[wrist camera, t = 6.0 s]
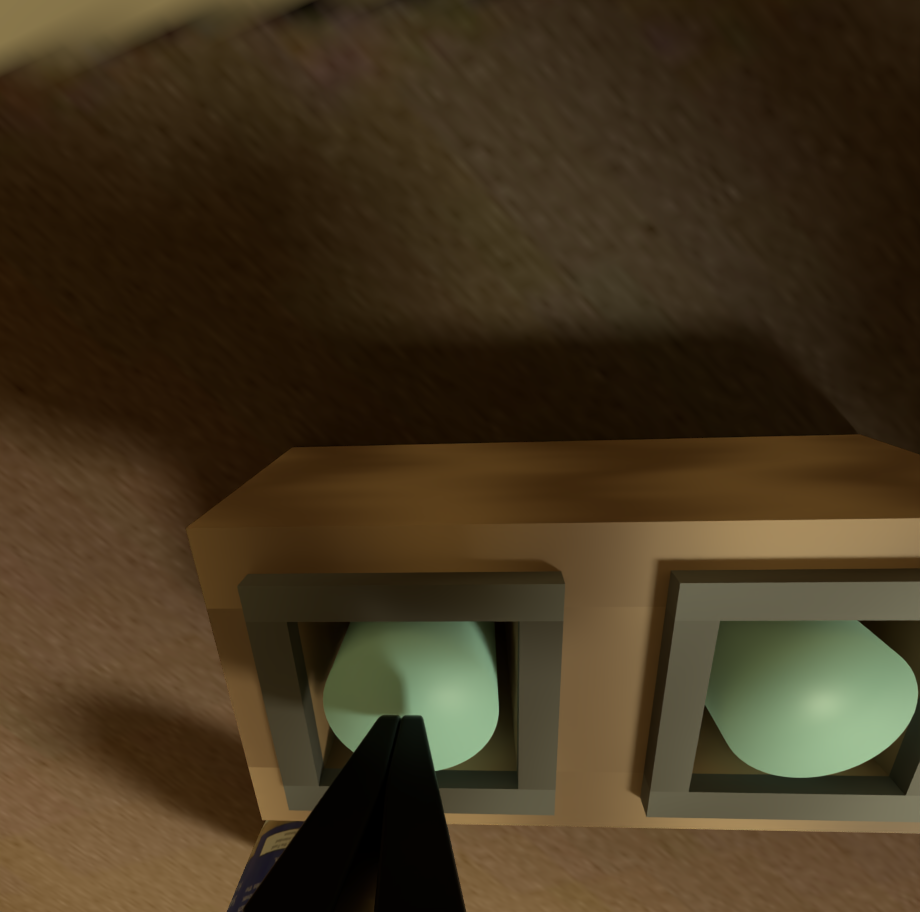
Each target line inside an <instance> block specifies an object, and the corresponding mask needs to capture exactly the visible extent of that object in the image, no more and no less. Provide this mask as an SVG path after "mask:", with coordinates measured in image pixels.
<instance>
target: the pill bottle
mask: <svg viewBox="0 0 920 912" xmlns="http://www.w3.org/2000/svg"><path fill="white" fill-rule="evenodd" d="M303 823H304V821H278V820H266V822H265V823H264V825H263V827H262V829H261V831H260V834H259V836H258V838H257V840H256V843H255V845H254V847H253V850H252V852H251V855H250V857H249V859H248V862H247V864H246V867H245V869H244V872H243V874H242V876H241V879H240V881H239V883H238V886H237V888H236V891H235V893H234V896H233V898H232V901H231V903H230V905H229V908H228V910H227V912H242V910H243V907H244V906H245V904H246V903H247V902H248V900H249V899H250V897H251V896H252V895H253V893H254V892H255V890H256V889H257V888H258V886H259V885H260V883H261V882H262V880H263V879H264V878H265V876H266V875H267V873H268V872H269V871H270V869H271V868H272V866H273V865H274V864H275V862H276V861H277V859H278V858H279V857H280V855H281V854H282V852H283V851H284V850H285V848H286V847H287V845H288V844H289V843H290V841H291V840H292V838H293V837H294V836H295V834H296V833H297V831H298V830H299V828H300V827H301V826H302V824H303Z"/></svg>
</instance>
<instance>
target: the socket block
mask: <svg viewBox="0 0 920 912" xmlns="http://www.w3.org/2000/svg"><path fill="white" fill-rule="evenodd" d="M186 532H187V536H188V540H189V543H190V547H191V551H192V555H193V559H194V562H195V566H196V570H197V574H198V578H199V581H200V585H201V589H202V593H203V597H204V600H205V604H206V608H207V612H208V616H209V619H210V623H211V627H212V631H213V635H214V639H215V642H216V646H217V650H218V654H219V658H220V661H221V665H222V669H223V673H224V677H225V680H226V684H227V688H228V692H229V696H230V699H231V703H232V707H233V711H234V715H235V718H236V722H237V726H238V730H239V734H240V737H241V741H242V745H243V749H244V753H245V756H246V760H247V764H248V768H249V772H250V775H251V779H252V783H253V787H254V791H255V795H256V798H257V802H258V806H259V810H260V814H261V817H262V820H278V821H305V820H306V819H307V817H308V816H309V814H310V813H311V812H312V810H313V809H314V807H315V806H316V805H317V803H318V802H319V800H320V799H321V798H322V796H323V795H324V793H325V792H326V791H327V789H328V788H329V786H330V785H331V784H332V782H333V781H334V779H335V778H336V777H337V775H338V774H339V772H340V771H341V769H342V768H343V767H344V765H345V764H346V762H347V761H348V760H349V758H350V757H351V755H352V754H353V753H354V752H353V751H351V750H350V749H349V748H347V747H346V746H345V745H344V744H343V743H342V742H341V741H340V740H339V738H338V737H337V736H336V735H335V733H334V732H333V730H332V729H331V727H330V725H329V723H328V721H327V718H326V715H325V711H324V706H323V692H324V687H325V684H326V681H327V678H328V676H329V673H330V671H331V668H332V666H333V663H334V661H335V659H336V656H337V654H338V651H339V649H340V646H341V644H342V641H343V639H344V636H345V634H346V631H347V629H348V627H349V624H350V622H465V621H494V622H495V642H496V662H497V682H498V702H499V715H498V721H497V725H496V728H495V731H494V733H493V735H492V737H491V738H490V740H489V741H488V743H487V744H486V745H485V746H484V747H483V748H482V749H481V750H480V751H479V752H478V753H477V754H475V755H474V756H473V757H471V758H470V759H468V760H466V761H464V762H462V763H460V764H458V765H456V766H453V767H450V768H447V769H442V770H438V771H435V773H436V778H437V782H438V787H439V791H440V796H441V800H442V805H443V809H444V814H445V818H446V823H447V824H477V825H527V826H577V827H626V828H676V829H726V830H775V831H825V832H875V833H920V455H919V454H916V453H913V452H910V451H908V450H905V449H902V448H899V447H896V446H893V445H890V444H887V443H884V442H881V441H878V440H875V439H872V438H869V437H866V436H863V435H860V434H855V435H811V436H768V437H724V438H680V439H636V440H592V441H548V442H504V443H460V444H417V445H373V446H329V447H292V448H291V449H289V450H288V451H287V452H285V453H284V454H283V455H281V456H280V457H279V458H278V459H276V460H275V461H274V462H272V463H271V464H270V465H268V466H267V467H266V468H264V469H263V470H262V471H260V472H259V473H258V474H256V475H255V476H254V477H252V478H251V479H250V480H249V481H247V482H246V483H245V484H243V485H242V486H241V487H239V488H238V489H237V490H235V491H234V492H233V493H231V494H230V495H229V496H227V497H226V498H225V499H223V500H222V501H221V502H220V503H218V504H217V505H216V506H214V507H213V508H212V509H210V510H209V511H208V512H206V513H205V514H204V515H202V516H201V517H200V518H198V519H197V520H196V521H194V522H193V523H192V524H191V525H189V526H188V527H187V528H186ZM833 620H857V621H859V622H860V623H861V624H862V625H863V626H865V627H866V628H867V629H868V630H870V631H871V632H872V633H873V634H874V635H876V636H877V637H878V638H879V639H880V640H882V641H883V642H884V643H885V644H886V645H888V646H889V647H890V648H891V649H892V650H894V651H895V652H896V653H897V654H898V655H899V656H901V657H902V658H903V659H904V660H905V661H906V662H907V664H908V665H909V666H910V668H911V669H912V671H913V673H914V675H915V678H916V682H917V686H918V699H917V705H916V709H915V712H914V714H913V716H912V719H911V721H910V723H909V724H908V726H907V727H906V729H905V730H904V731H903V733H902V734H901V735H900V736H899V737H898V738H897V739H896V740H895V741H894V742H893V743H892V744H891V745H890V746H889V747H888V748H886V749H885V750H884V751H882V752H881V753H880V754H878V755H876V756H875V757H873V758H871V759H870V760H868V761H866V762H864V763H862V764H860V765H858V766H855V767H853V768H850V769H848V770H845V771H841V772H838V773H834V774H830V775H825V776H818V777H808V778H793V777H783V776H777V775H772V774H769V773H765V772H762V771H760V770H757V769H755V768H753V767H751V766H749V765H748V764H746V763H745V762H743V761H742V760H741V759H739V758H738V757H737V756H736V755H735V754H734V753H733V751H732V750H731V749H730V747H729V746H728V744H727V742H726V741H725V739H724V737H723V735H722V734H721V732H720V730H719V728H718V727H717V725H716V723H715V721H714V719H713V718H712V716H711V714H710V712H709V711H708V709H707V707H706V705H705V700H706V695H707V689H708V684H709V679H710V673H711V668H712V662H713V657H714V651H715V646H716V641H717V635H718V630H719V624H720V621H833Z"/></svg>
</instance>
